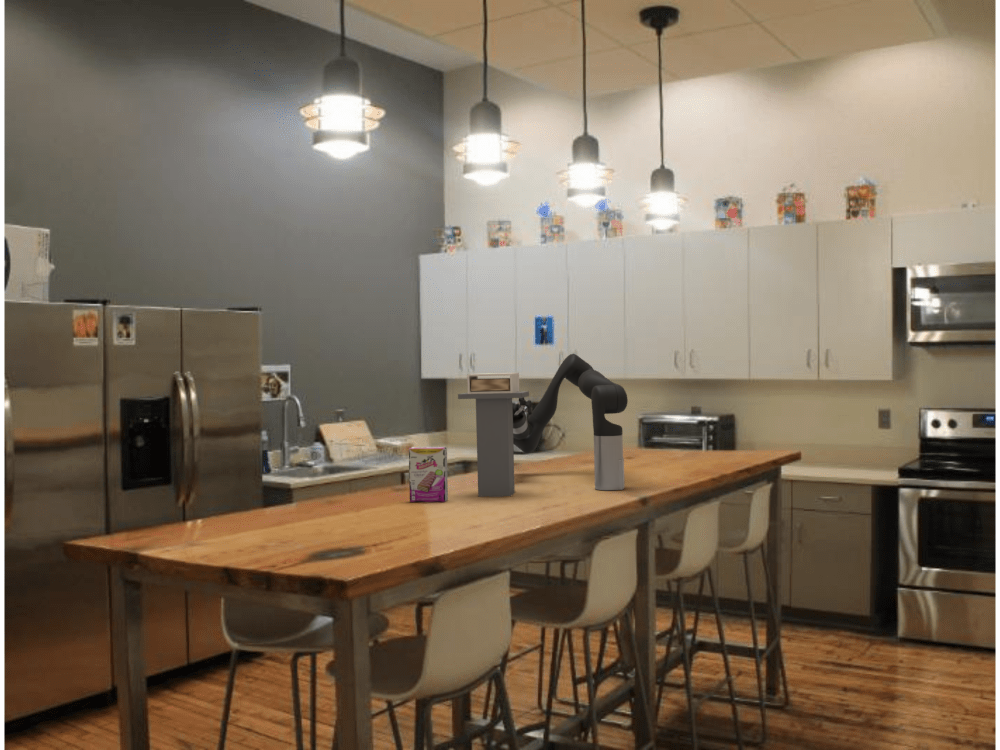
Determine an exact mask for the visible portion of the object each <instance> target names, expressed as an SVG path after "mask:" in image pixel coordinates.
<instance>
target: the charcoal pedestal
mask: <svg viewBox="0 0 1000 750" xmlns="http://www.w3.org/2000/svg"><path fill="white" fill-rule="evenodd" d="M529 396H530V391H529V390H528V391H527V390H526V391H523V390H522V391H519V392H515V393H491V394H468V392H464V393H458V394H457V399H458V400H475V422H476V423H475V425H476V428H475V429H476V460H477V461H476V462H477V465H476V466H477V468H476V469H477V496H478V497H482V498H483V497H484V498H485V496H486V498H488V497H487V496H489V498H490V497H491V498H492V497H493V498H494V497H496V498H497V497H499V498H500V497H501V498H503V496H510V497H511V496H513V495H514V494H515V491H516V490H515V489H516V488H515V457H514V456H515V455H514V452H515V451H514V447H515V446H514V444H513V409H512V404H513V399H519V398H524V399H525V398H528V397H529Z"/></svg>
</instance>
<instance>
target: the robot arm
mask: <svg viewBox="0 0 1000 750" xmlns="http://www.w3.org/2000/svg"><path fill="white" fill-rule="evenodd" d="M564 379H566V380H567V381H568V382H570V383H571V384H573V386H576V387H577V388H578V389H579V391H580V392H581V393H582V394H583V395H584V396H585V397H586V398H588V399H590V400H591V410H592V411H591V412H592V426H593V427H592V428H593V459H594V489H596V490H598V491H599V490H600V491H617V490H618V491H619V490H620V491H621V490H624V489H625V459H624V447H623V445H624V444H623V443H624V442H623V441H624V439H623V437H624V436H623V426H621V425H620V424H616V423H613V422H611V421H609V420H607V419H606V417H605V416H606V415H610V414H611V415H612V414H621V413H623V412H624V411H625V410H626V409H627V407H628V394H627V391H626V390H625V388H624V387H623V386H622V385H620V384H618V383H615V382H614V381H612V380H610V379H608V378H607V377H605V375H603V374H602V373H601V372H599V371H597V370H595V369H594V367H592V365H590V363H588V362H587V361H585V360H584V359H583V358H581V357H580V356H579V355H577V354H575V353H571V354H569V355H568V356H566V357H565V358H564V359H563V361H562V362H561V364H560V366H559V367H558V369H557V371H556V372H555V374H554V376H553V378H552V379H551V381H550V383H549V385H548V386H547V388H546V390H545V392H544V394H543V396H542V397H541V399H540V400H539V402H538V403H537V405H535V407H534V409H533V404H532V400H530V399H529V400H526V399H525V397H524V398H518V401H517V402H516V403H513V402H512V409H513V446H514V445H515V446H516V447H517V448H518V449H519V450H521V451H522V452H523V453H524V454H531V453H532V452H534V451H535V450H536V448H537V446H538V445H539V442H540V440H541V437H542V434H543V431H544V430H545V428H546V426H547V425H548V424H549V422H550V421H551V420H552V418H553V417H554V415H555V413H556V411H557V407H558V397H559V392H560V387H561V385H562V383H563V381H564ZM526 413H527V414H528V417H527V415H526ZM530 427H531V429H532V430H531V429H530ZM530 431H531V432H530Z"/></svg>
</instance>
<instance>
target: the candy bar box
mask: <svg viewBox="0 0 1000 750" xmlns="http://www.w3.org/2000/svg"><path fill="white" fill-rule="evenodd" d="M408 471H409V473H408V477H409V480H408V481H409V487H408V488H409V502H410V503H445V502H447V501H448V499H449V491H448V489H449V488H448V486H449V485H448V483H449V480H448V447H447V446H412V447H409V448H408Z"/></svg>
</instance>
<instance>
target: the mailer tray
mask: <svg viewBox="0 0 1000 750" xmlns="http://www.w3.org/2000/svg"><path fill="white" fill-rule="evenodd" d="M492 390H510V377H509V378H507V377H506V378H505V377H504V378H503V377H502V378H478V379H474V380H471V391H492Z"/></svg>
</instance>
